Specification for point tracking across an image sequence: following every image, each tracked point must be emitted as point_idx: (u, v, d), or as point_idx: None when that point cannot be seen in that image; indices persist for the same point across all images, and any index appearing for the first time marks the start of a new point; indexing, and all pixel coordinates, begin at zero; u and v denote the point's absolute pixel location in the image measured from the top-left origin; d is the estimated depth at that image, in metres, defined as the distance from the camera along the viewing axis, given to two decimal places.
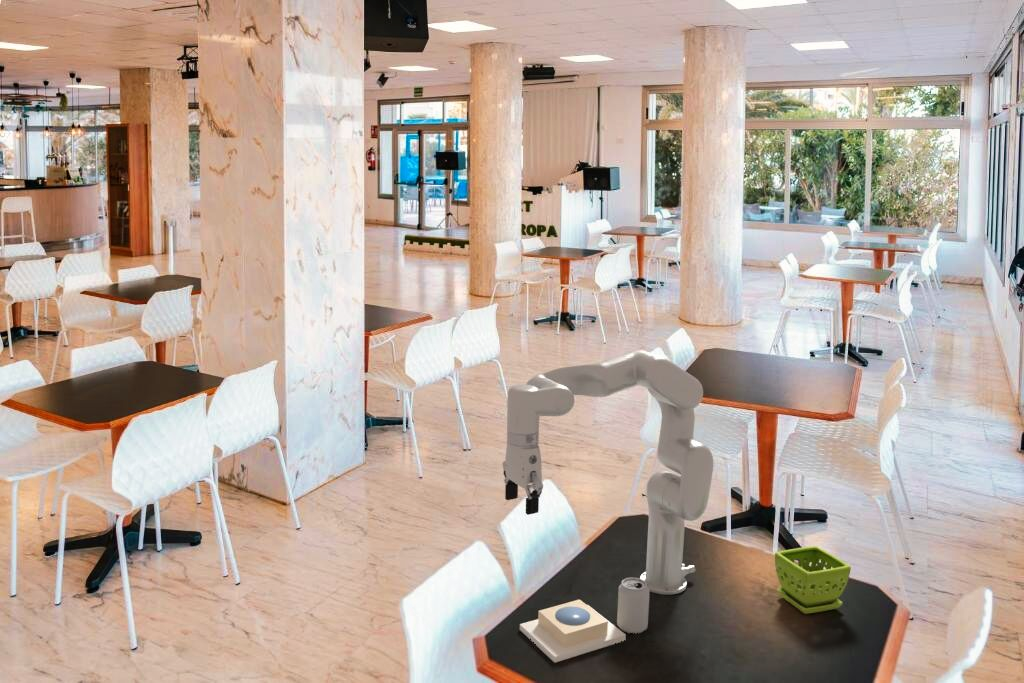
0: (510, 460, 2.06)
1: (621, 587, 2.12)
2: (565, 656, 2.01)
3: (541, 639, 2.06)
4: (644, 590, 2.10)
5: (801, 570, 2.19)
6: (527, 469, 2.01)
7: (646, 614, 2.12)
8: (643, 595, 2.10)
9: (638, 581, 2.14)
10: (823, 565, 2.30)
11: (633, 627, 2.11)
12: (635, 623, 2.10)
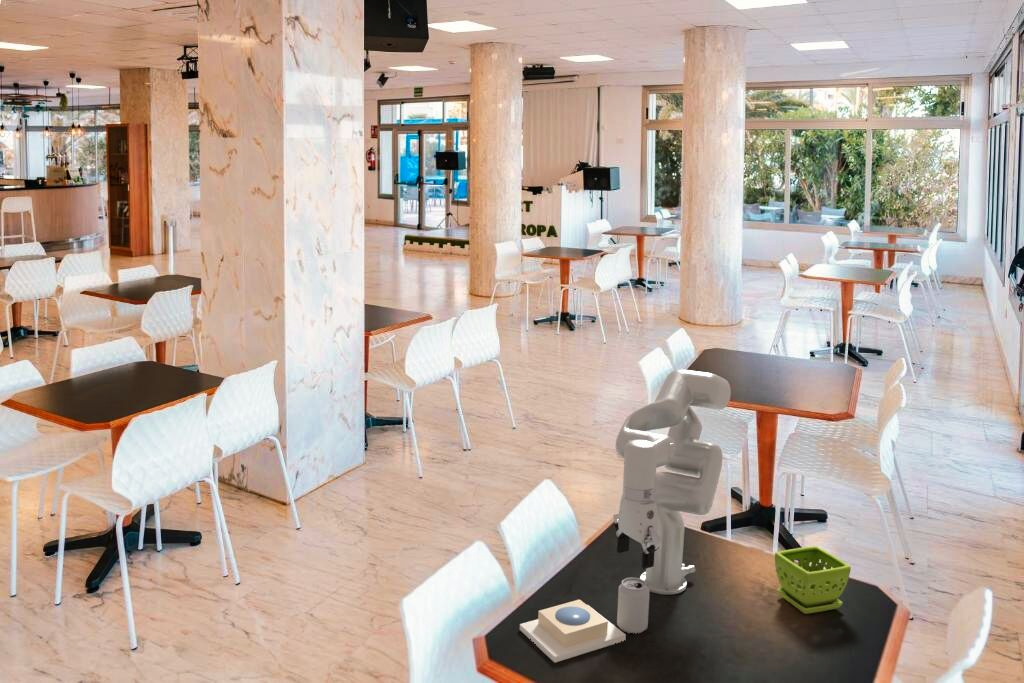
0: (625, 514, 2.08)
1: (621, 587, 2.12)
2: (565, 656, 2.01)
3: (541, 639, 2.06)
4: (644, 590, 2.10)
5: (801, 570, 2.19)
6: (645, 524, 2.04)
7: (646, 614, 2.12)
8: (643, 595, 2.10)
9: (638, 581, 2.14)
10: (823, 565, 2.30)
11: (633, 627, 2.11)
12: (635, 623, 2.10)
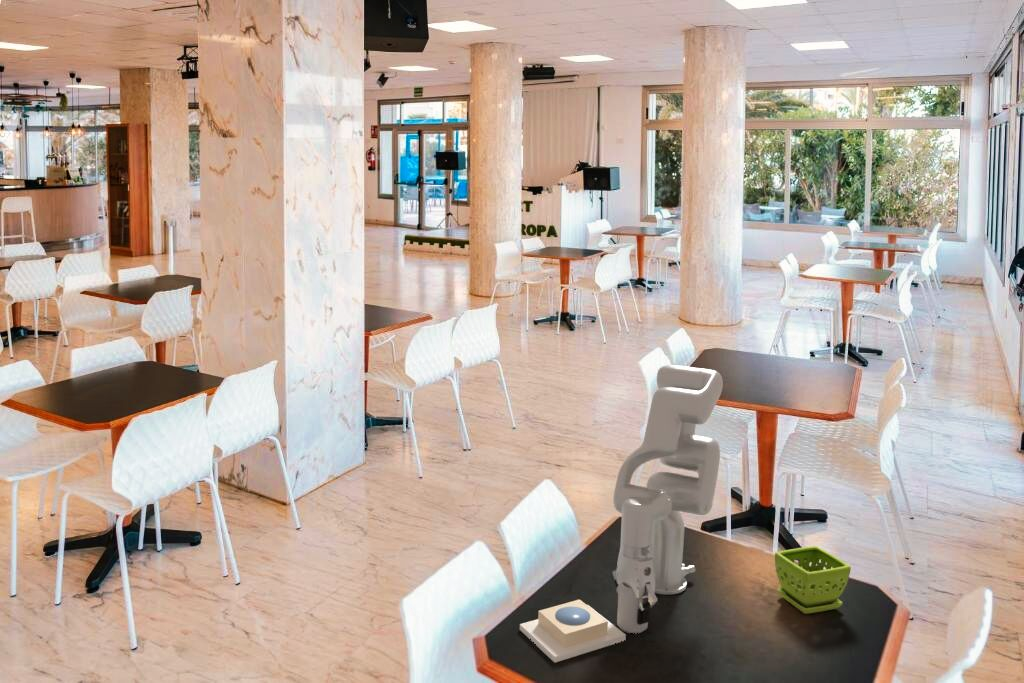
0: (623, 570, 2.12)
1: (621, 587, 2.12)
2: (565, 656, 2.01)
3: (541, 639, 2.06)
4: None
5: (801, 570, 2.19)
6: (642, 581, 2.07)
7: None
8: (643, 595, 2.10)
9: None
10: (823, 565, 2.30)
11: (633, 627, 2.11)
12: (635, 623, 2.10)
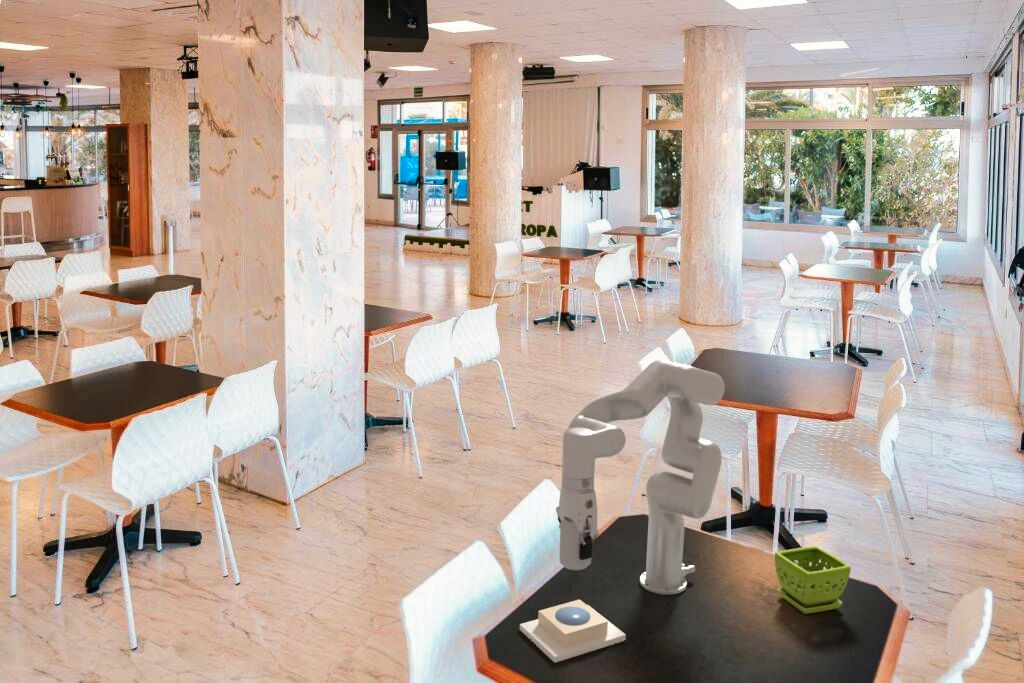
0: (565, 504, 2.04)
1: (563, 522, 2.04)
2: (565, 656, 2.01)
3: (541, 639, 2.06)
4: None
5: (801, 570, 2.19)
6: (583, 514, 1.99)
7: None
8: (585, 529, 2.02)
9: None
10: (823, 565, 2.30)
11: (574, 563, 2.03)
12: (577, 558, 2.03)
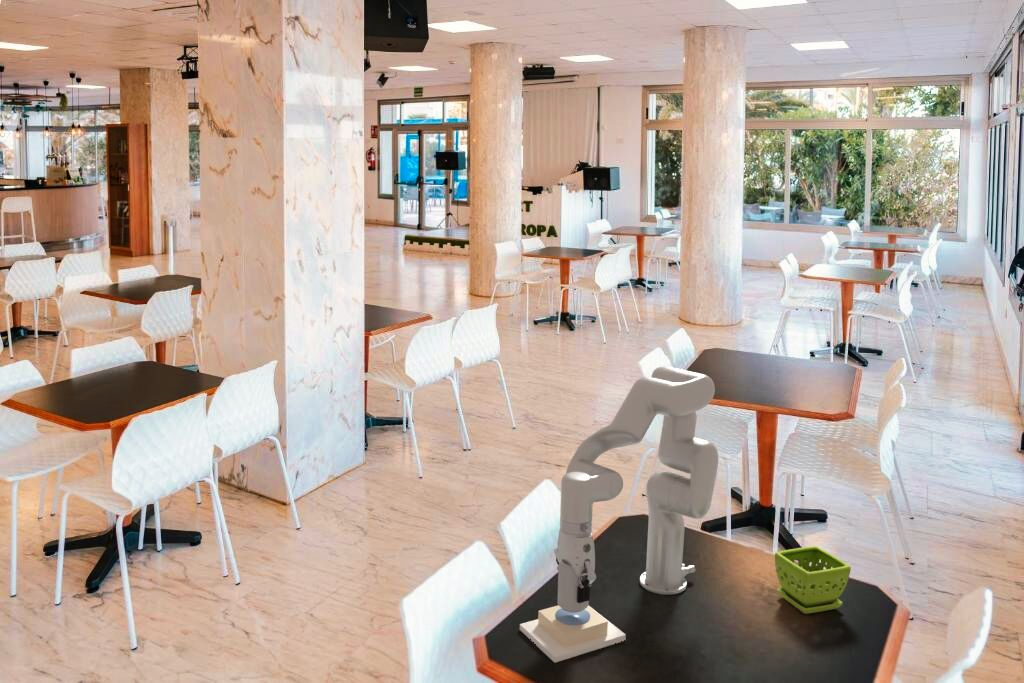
0: (563, 547, 2.06)
1: (561, 565, 2.07)
2: (565, 656, 2.01)
3: (541, 639, 2.06)
4: None
5: (801, 570, 2.19)
6: (581, 558, 2.01)
7: None
8: (583, 572, 2.04)
9: None
10: (823, 565, 2.30)
11: (572, 605, 2.05)
12: (574, 601, 2.05)
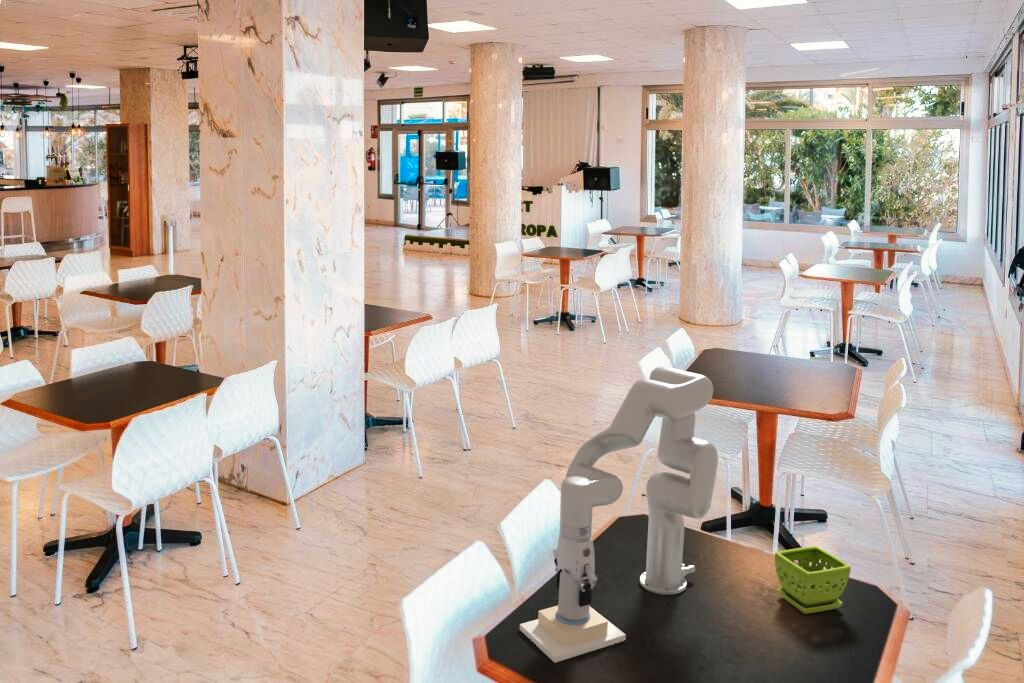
0: (562, 551, 2.06)
1: (562, 573, 2.07)
2: (565, 656, 2.01)
3: (541, 639, 2.06)
4: None
5: (801, 570, 2.19)
6: (581, 562, 2.02)
7: None
8: (584, 582, 2.05)
9: None
10: (823, 565, 2.30)
11: (573, 614, 2.06)
12: (575, 610, 2.06)
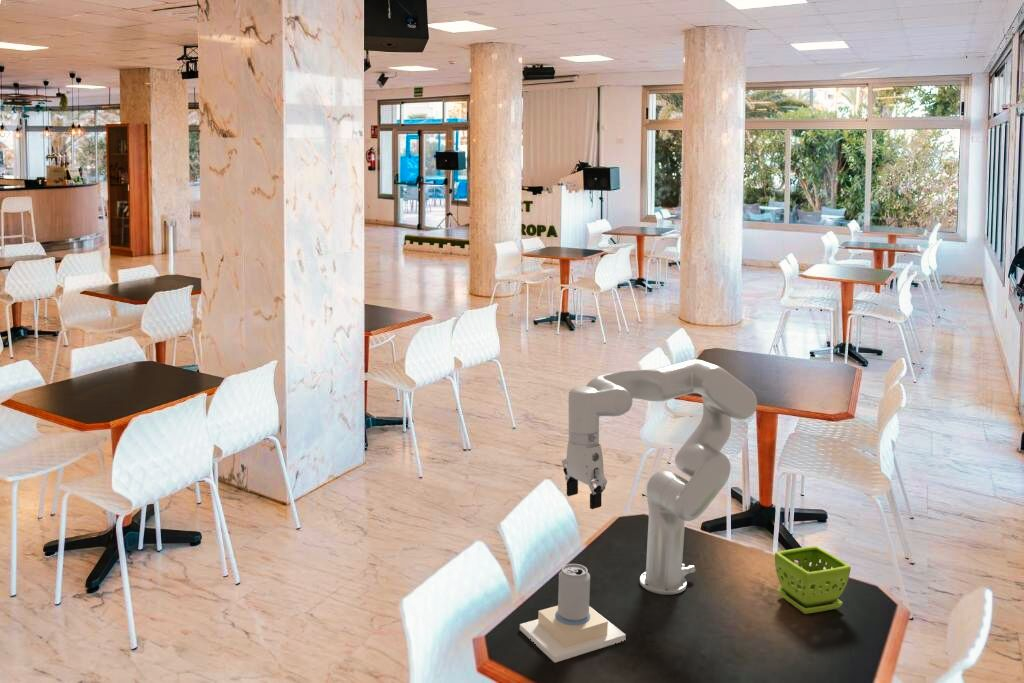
0: (572, 458, 2.17)
1: (561, 573, 2.07)
2: (565, 656, 2.01)
3: (541, 639, 2.06)
4: (584, 576, 2.06)
5: (801, 570, 2.19)
6: (590, 466, 2.13)
7: (586, 601, 2.07)
8: (583, 581, 2.05)
9: (579, 567, 2.09)
10: (823, 565, 2.30)
11: (572, 614, 2.06)
12: (575, 610, 2.06)
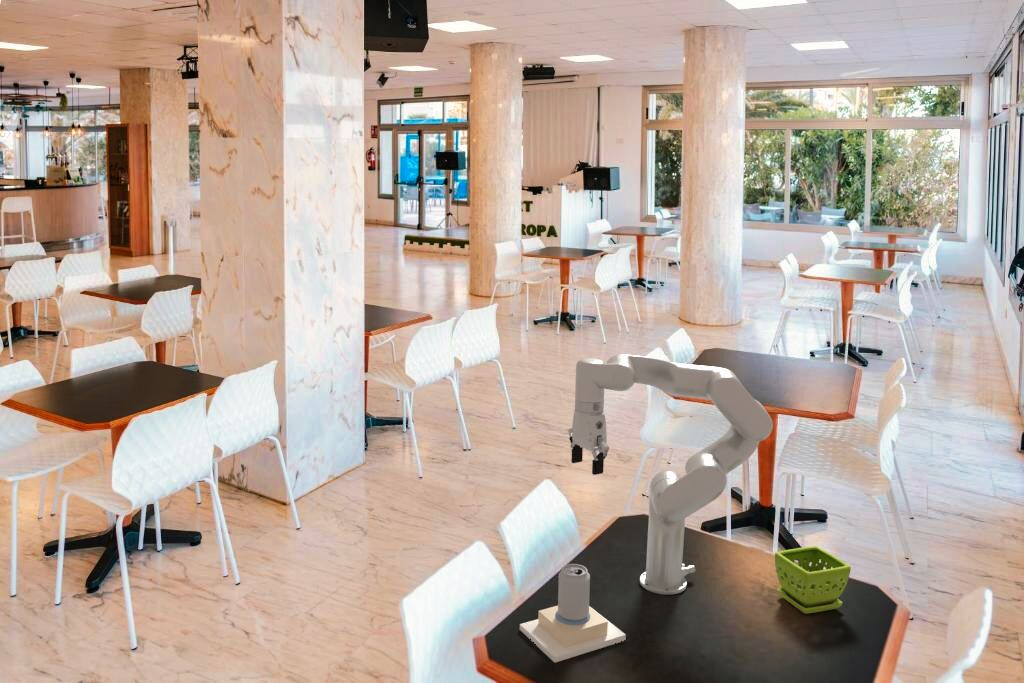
0: (577, 426, 2.29)
1: (561, 573, 2.07)
2: (565, 656, 2.01)
3: (541, 639, 2.06)
4: (584, 576, 2.06)
5: (801, 570, 2.19)
6: (594, 434, 2.24)
7: (586, 601, 2.07)
8: (582, 581, 2.05)
9: (579, 567, 2.09)
10: (823, 565, 2.30)
11: (572, 614, 2.06)
12: (575, 610, 2.06)
